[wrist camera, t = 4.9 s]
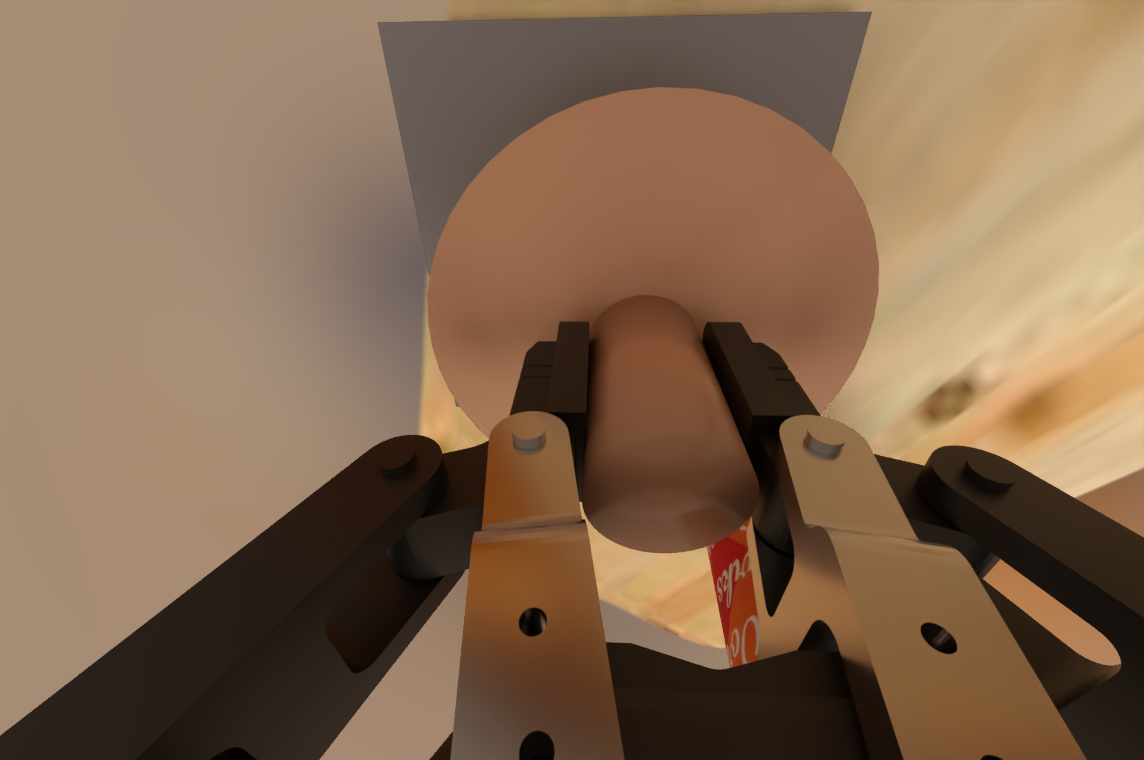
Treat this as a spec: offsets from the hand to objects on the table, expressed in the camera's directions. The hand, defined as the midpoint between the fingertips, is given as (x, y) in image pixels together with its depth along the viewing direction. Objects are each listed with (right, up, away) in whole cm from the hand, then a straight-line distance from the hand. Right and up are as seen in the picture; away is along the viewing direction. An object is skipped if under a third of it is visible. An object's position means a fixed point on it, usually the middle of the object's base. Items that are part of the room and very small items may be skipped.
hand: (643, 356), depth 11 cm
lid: (0, +1, +1) cm, 1 cm away
